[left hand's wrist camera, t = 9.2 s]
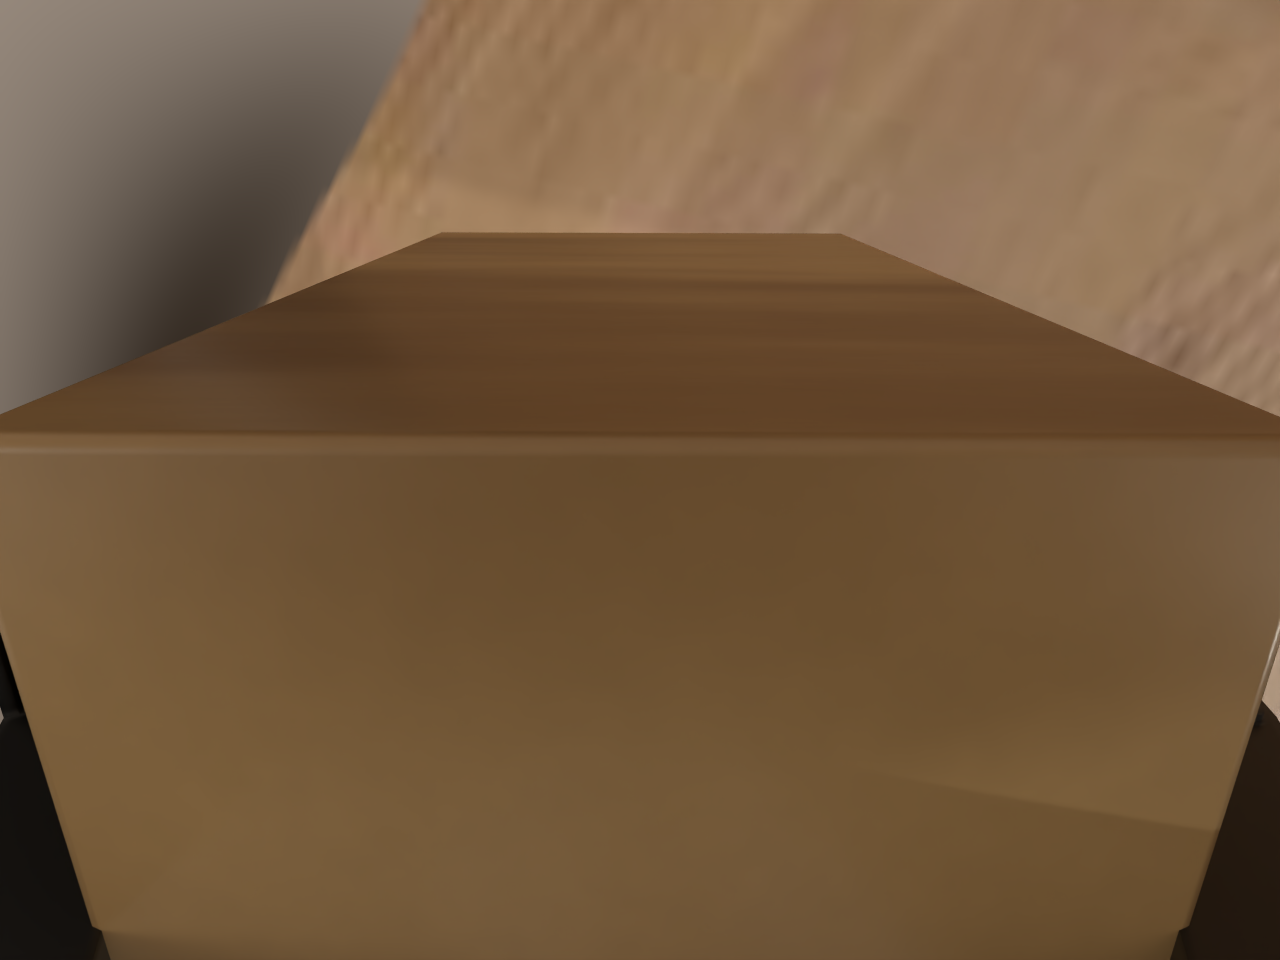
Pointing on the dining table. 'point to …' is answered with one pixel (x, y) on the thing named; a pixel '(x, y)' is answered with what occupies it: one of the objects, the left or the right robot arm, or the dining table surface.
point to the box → (640, 615)
